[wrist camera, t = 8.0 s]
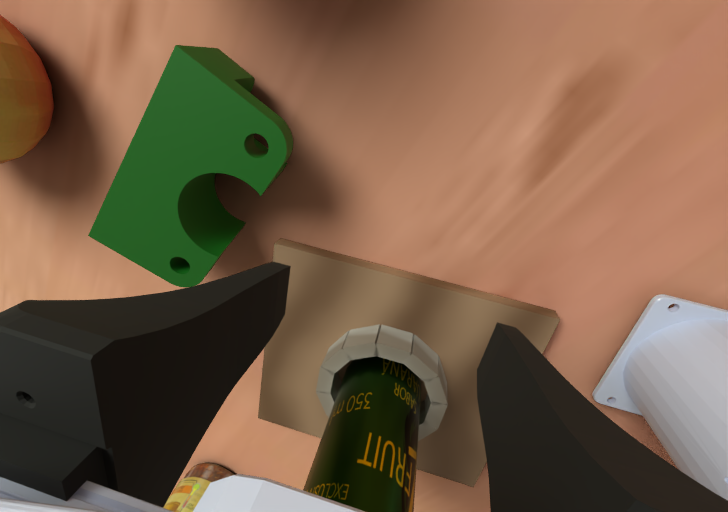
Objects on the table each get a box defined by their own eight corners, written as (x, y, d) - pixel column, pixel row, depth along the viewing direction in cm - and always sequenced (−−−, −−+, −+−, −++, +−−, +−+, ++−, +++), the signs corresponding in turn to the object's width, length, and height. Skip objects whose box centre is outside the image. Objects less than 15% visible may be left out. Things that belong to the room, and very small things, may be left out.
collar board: (555, 310, 22) (571, 339, 19) (472, 475, 28) (476, 514, 26) (280, 238, 23) (259, 255, 21) (263, 408, 30) (246, 438, 27)
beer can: (386, 417, 26) (349, 634, 15) (332, 373, 26) (254, 566, 15) (438, 381, 24) (437, 603, 13) (380, 331, 24) (329, 522, 13)
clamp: (255, 212, 27) (185, 305, 22) (185, 163, 26) (87, 250, 20) (333, 98, 19) (251, 200, 13) (235, 14, 17) (91, 88, 11)
